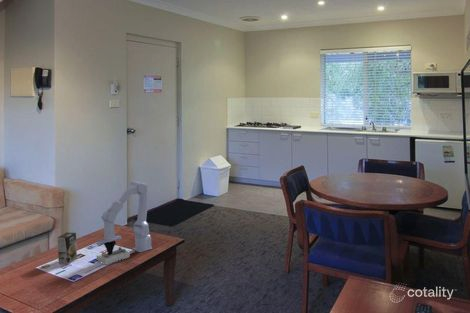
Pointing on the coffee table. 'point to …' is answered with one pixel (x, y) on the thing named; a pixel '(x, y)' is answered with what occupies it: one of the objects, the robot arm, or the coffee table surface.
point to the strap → (113, 252)
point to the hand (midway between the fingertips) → (110, 253)
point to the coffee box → (67, 248)
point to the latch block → (113, 256)
